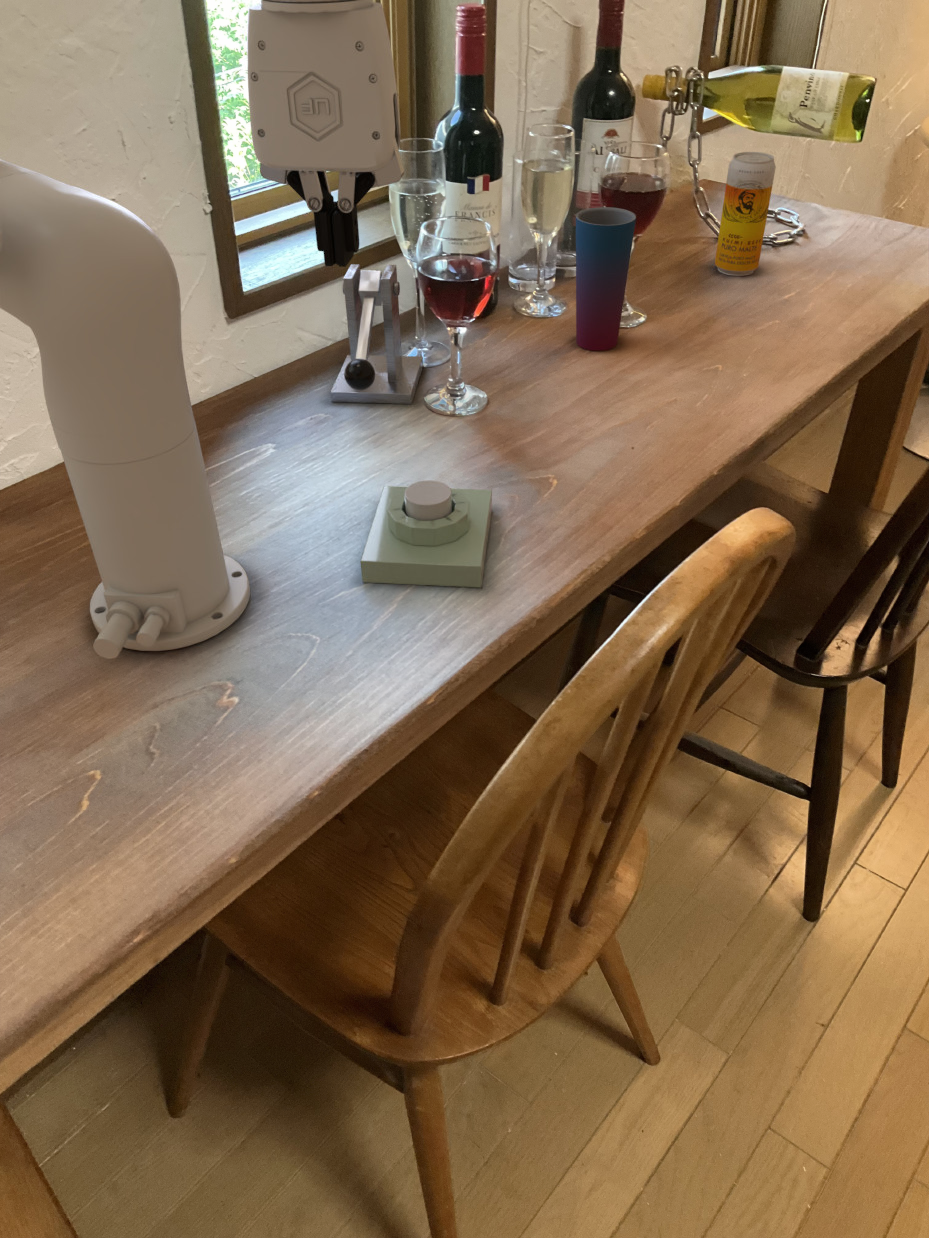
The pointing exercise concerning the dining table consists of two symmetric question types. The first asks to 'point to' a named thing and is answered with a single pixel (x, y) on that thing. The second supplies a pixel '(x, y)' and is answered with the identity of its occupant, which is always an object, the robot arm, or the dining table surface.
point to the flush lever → (365, 331)
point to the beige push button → (428, 500)
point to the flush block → (428, 542)
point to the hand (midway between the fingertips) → (339, 260)
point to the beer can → (744, 213)
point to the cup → (601, 274)
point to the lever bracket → (392, 370)
